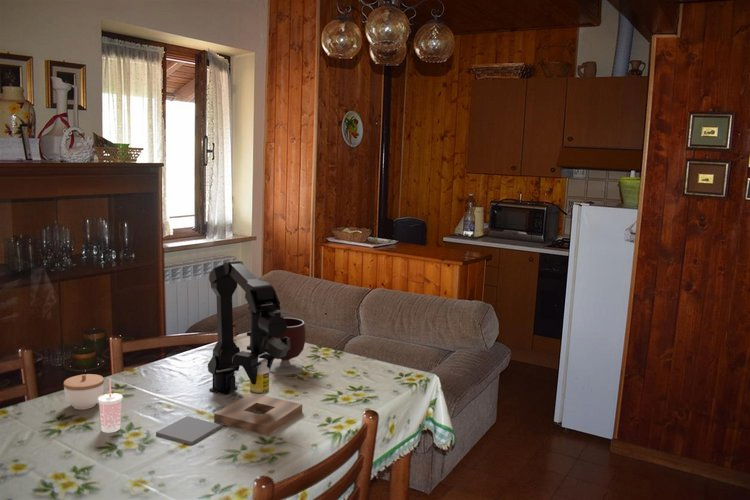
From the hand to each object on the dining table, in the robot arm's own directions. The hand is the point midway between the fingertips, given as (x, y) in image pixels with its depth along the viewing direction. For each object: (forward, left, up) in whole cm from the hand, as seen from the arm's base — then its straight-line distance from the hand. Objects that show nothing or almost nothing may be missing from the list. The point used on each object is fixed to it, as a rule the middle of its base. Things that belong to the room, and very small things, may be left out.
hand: (259, 381), depth 179 cm
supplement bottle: (0, 0, -4) cm, 4 cm away
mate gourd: (-16, +38, -11) cm, 43 cm away
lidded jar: (-49, -18, -11) cm, 53 cm away
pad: (-11, -17, -11) cm, 23 cm away
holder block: (0, 0, -11) cm, 11 cm away
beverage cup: (-30, -26, -11) cm, 41 cm away
